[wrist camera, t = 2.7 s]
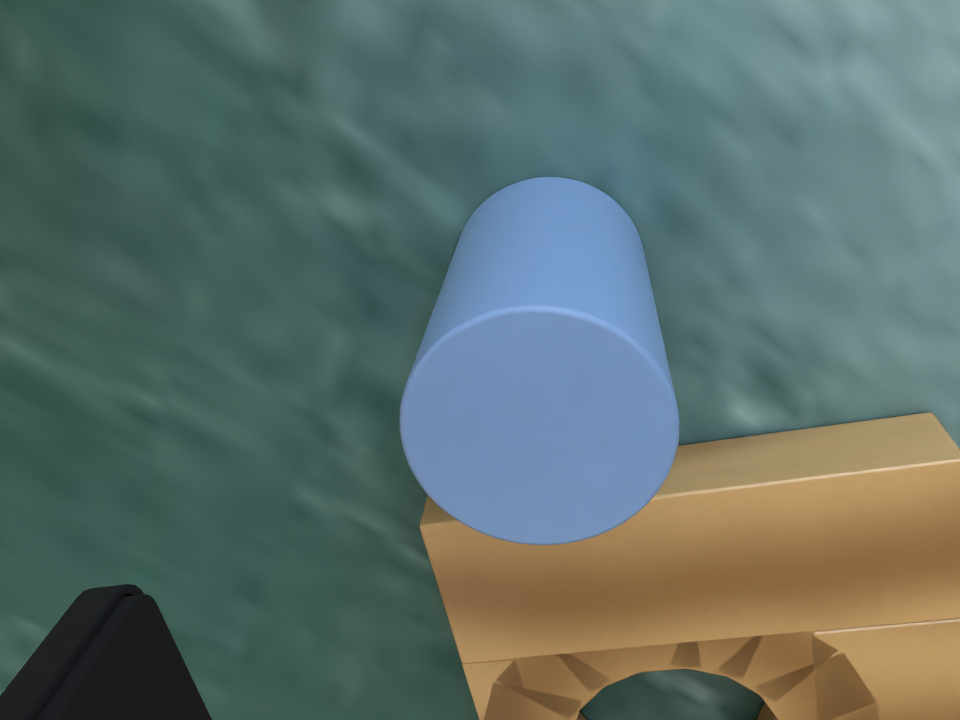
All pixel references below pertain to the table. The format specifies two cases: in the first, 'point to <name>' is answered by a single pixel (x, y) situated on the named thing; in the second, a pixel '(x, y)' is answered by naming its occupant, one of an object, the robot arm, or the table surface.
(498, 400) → the light blue cylinder
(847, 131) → the table surface
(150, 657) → the robot arm
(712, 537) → the holder
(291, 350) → the table surface
